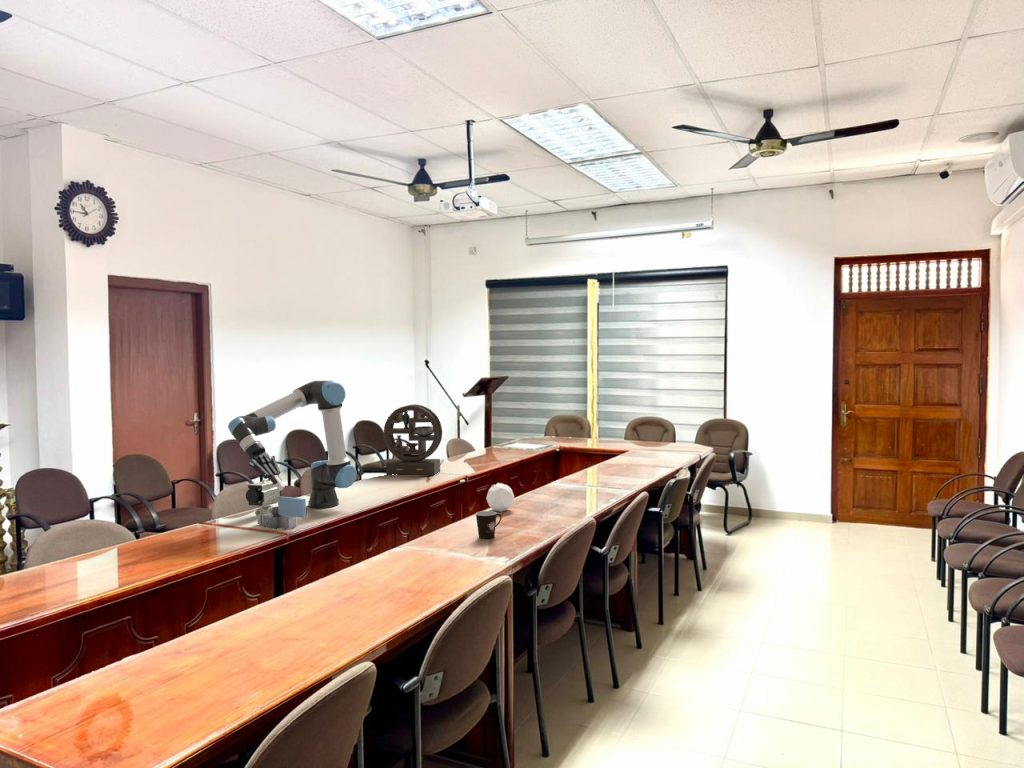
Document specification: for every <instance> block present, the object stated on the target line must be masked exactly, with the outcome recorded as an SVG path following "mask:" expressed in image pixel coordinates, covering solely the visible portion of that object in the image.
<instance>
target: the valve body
mask: <svg viewBox="0 0 1024 768" xmlns="http://www.w3.org/2000/svg"><path fill="white" fill-rule="evenodd" d="M256 518H257V519H256V520H257V525H258V526H263V528H266V527H267V529H272V528H274V530H278V529H284V530H290V529H294V528H297V517H293V516H285V515H272V514H271V513H270V512H265V513H261V514H258V515H257V516H256ZM277 528H278V529H277Z"/></svg>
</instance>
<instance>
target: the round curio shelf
mask: <svg viewBox="0 0 1024 768" xmlns="http://www.w3.org/2000/svg"><path fill="white" fill-rule="evenodd" d="M409 411H413V413H412V414H413V417H412V416H410V414H409ZM402 422H403V424H404V427H394V425H395V424H400V423H402ZM417 423H431V426H429V425H427V426H426V425H425V426H424V425H423V426H416V424H417ZM402 434H404V435H405V434H408V441H409V443H405V445H403V441H402ZM394 435H396V438H397V439H396V441H395V437H394ZM383 439H384V442H385V445H386V447H387V449H388V451H389V452H390V453H391V454H392V455H393V456H394V457H395V458H393V459H390V460H388V461H386V462H385V471H386V472H385V473H386V474H385V475H386V476H387V477H389V476H388V475H392V474H394V475H396V474H397V475H435V474H436V475H438V474H439V473H441V459H440V458H429V457H430V456H432V455H433V454H434V453H435V451H437V449H438V448H439V446H440V444H441V442H442V439H443V427H442V423H441V421H440V419H439V417H438V415H437V414H436V413H435V412H434V411H433V410H432V409H430V408H428V407H427V406H424V405H421V404H415V403H414V404H409V405H404V406H401V407H398V408H397V409H395V410H393V412H391V413H390V415H389V416H388V417H387V418H386V421H385V423H384V426H383ZM410 441H411V442H410ZM427 441H429V442H430V441H432V443H431V444H430V446H429V447H428V449H427ZM416 447H417V449H416ZM438 472H439V473H438ZM437 473H438V474H437ZM436 475H435V476H436Z"/></svg>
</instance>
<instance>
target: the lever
mask: <svg viewBox="0 0 1024 768" xmlns="http://www.w3.org/2000/svg"><path fill="white" fill-rule="evenodd" d="M306 502H307V501H306V498H301V497H291V496H283V495H281V496H280V497H278V501H277V503H278V504H277V506H273V507H272V515H285V516H293V517H296V518H301V519H304V518H307V510H306V507H307V503H306Z"/></svg>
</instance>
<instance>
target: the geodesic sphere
mask: <svg viewBox="0 0 1024 768" xmlns="http://www.w3.org/2000/svg"><path fill="white" fill-rule="evenodd" d="M514 499H515V495H514V493H513V489H512V488H511V487H510V486H509V485H508V484H504V483H502V482H497V483H496V484H491V486H490V487H489V489H488V491H487V495H486V502H487V504H488V506H489V507H490V508H491V509H492V511H495V512H496V511H497V512H500V513H501V512H505V511H507V510H509V509H510V508H511V506H512V505H513V503H514Z"/></svg>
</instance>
